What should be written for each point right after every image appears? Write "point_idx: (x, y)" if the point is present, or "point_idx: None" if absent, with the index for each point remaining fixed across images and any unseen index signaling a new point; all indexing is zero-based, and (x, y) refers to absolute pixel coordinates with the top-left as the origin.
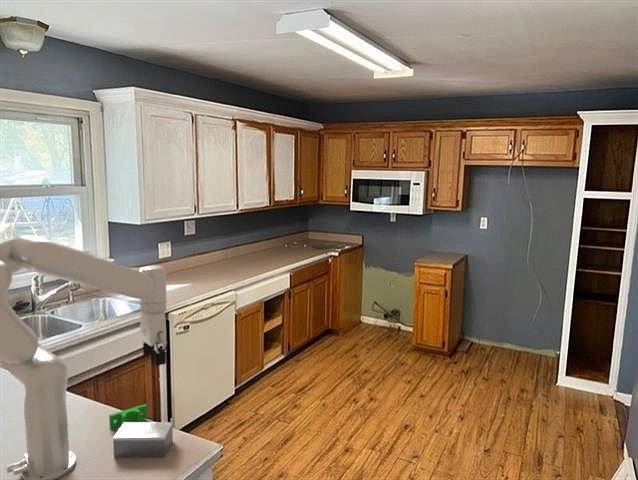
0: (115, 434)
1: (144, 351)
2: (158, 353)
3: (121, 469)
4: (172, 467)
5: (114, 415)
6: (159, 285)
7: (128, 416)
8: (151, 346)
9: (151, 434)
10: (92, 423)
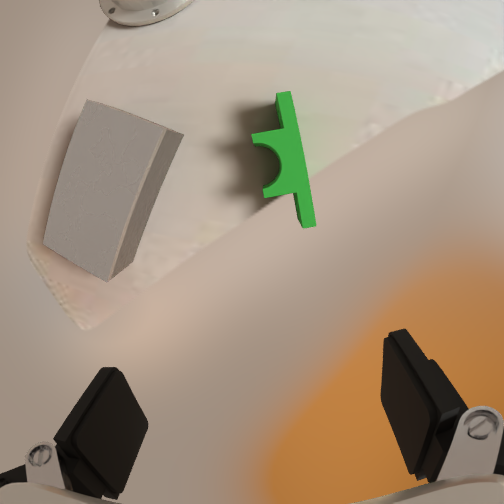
0: (100, 104)
1: (397, 358)
2: (60, 452)
3: (69, 128)
4: (43, 237)
5: (279, 107)
6: None
7: (278, 156)
8: (402, 436)
9: (62, 211)
10: (339, 62)
